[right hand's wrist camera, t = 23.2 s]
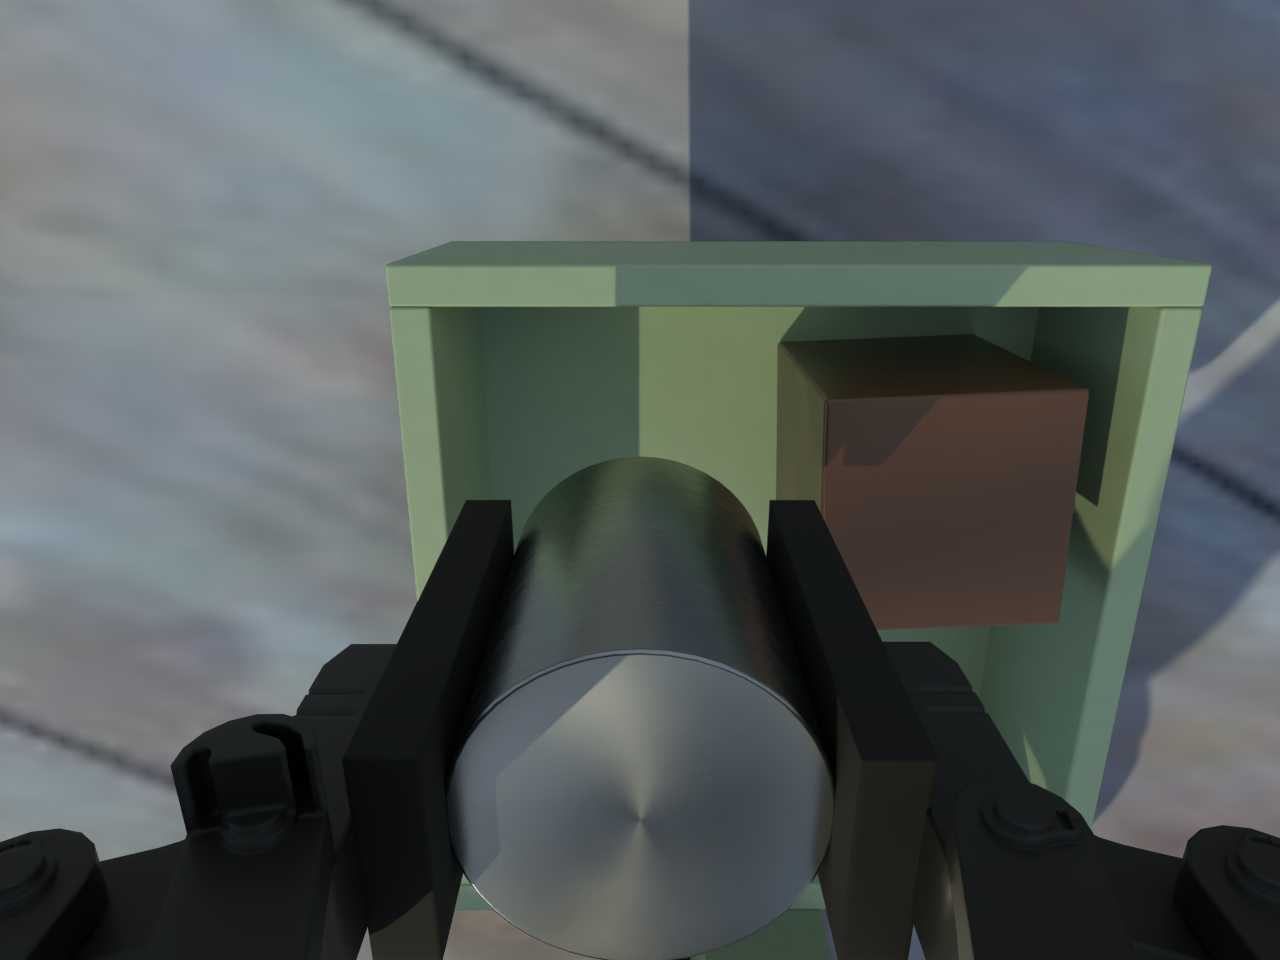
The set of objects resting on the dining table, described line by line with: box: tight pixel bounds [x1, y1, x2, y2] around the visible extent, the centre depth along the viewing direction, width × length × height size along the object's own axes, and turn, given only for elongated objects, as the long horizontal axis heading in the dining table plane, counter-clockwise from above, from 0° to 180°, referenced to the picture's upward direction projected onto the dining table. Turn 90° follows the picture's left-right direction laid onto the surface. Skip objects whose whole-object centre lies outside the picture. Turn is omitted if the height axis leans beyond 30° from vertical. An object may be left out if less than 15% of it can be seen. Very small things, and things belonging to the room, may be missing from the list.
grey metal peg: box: [445, 456, 836, 960], centre depth 12 cm, size 4×4×6 cm
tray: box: [385, 241, 1212, 960], centre depth 22 cm, size 26×16×8 cm, turn 0°
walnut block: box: [776, 334, 1089, 630], centre depth 20 cm, size 5×5×6 cm
